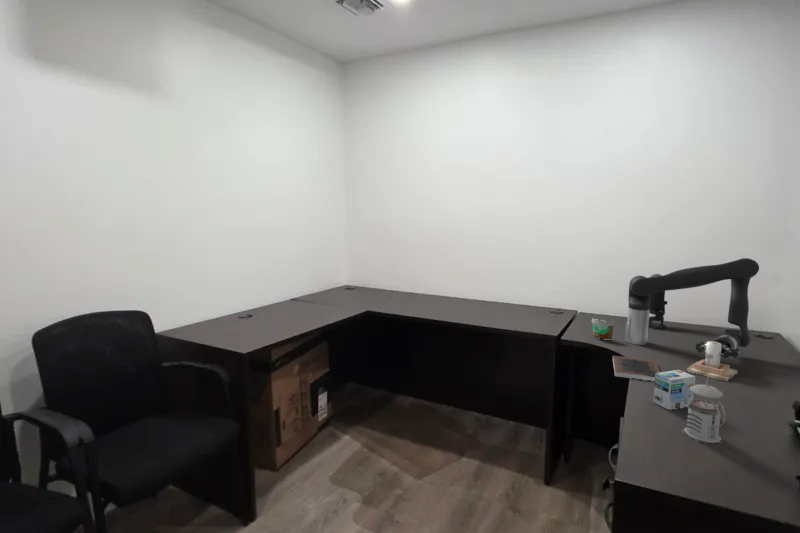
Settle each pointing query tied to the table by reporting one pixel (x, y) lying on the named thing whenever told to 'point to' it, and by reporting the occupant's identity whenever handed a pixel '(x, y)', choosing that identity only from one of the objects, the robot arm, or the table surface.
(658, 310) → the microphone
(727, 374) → the roll holder
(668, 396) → the light bulb box
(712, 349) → the paper roll
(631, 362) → the picture frame
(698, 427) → the french press
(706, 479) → the table surface
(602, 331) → the food container
